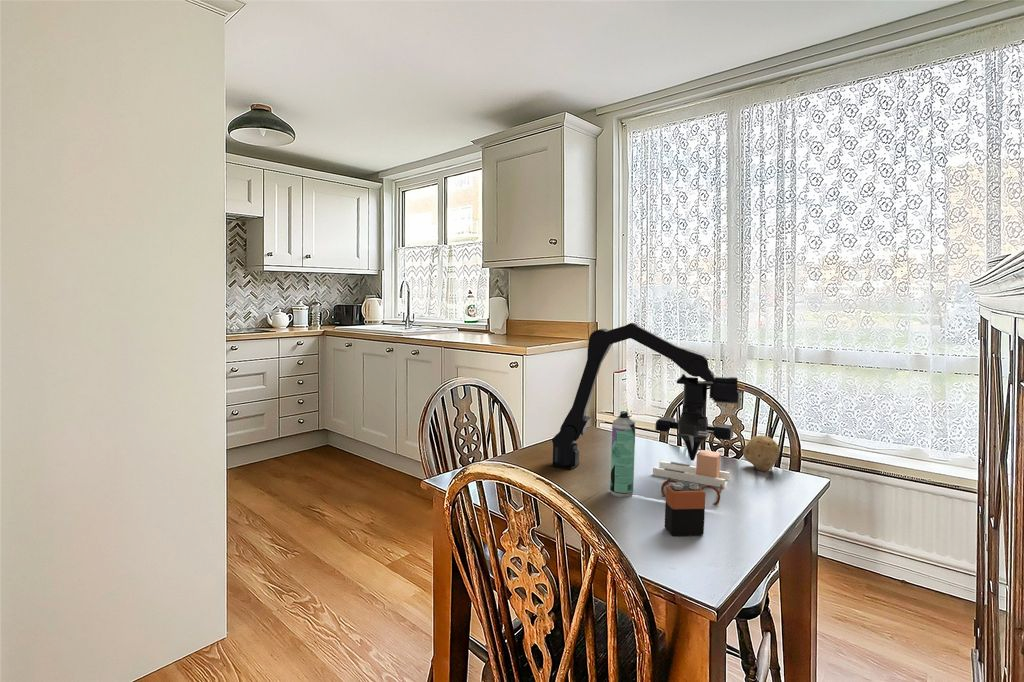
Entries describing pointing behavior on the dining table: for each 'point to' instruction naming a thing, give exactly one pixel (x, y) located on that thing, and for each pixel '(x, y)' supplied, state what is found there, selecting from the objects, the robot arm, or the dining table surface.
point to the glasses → (701, 488)
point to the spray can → (622, 456)
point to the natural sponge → (761, 452)
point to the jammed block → (708, 463)
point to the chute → (688, 474)
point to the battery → (684, 509)
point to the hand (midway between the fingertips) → (692, 460)
